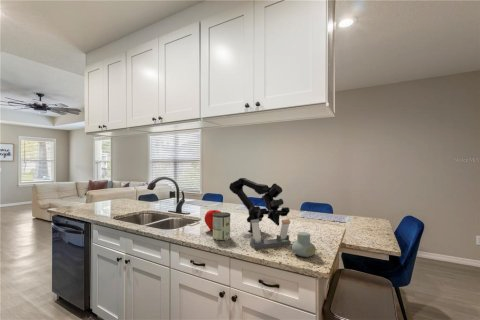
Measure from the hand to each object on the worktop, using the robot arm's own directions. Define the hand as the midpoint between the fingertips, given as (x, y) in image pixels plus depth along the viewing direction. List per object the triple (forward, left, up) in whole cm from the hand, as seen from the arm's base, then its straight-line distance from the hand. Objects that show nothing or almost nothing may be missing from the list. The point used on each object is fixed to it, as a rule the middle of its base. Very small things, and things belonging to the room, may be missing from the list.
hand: (278, 225), depth 133 cm
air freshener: (+15, +16, -9) cm, 24 cm away
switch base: (+8, -2, -9) cm, 12 cm away
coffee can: (+9, -32, -9) cm, 34 cm away
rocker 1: (+13, -7, -6) cm, 16 cm away
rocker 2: (+3, +3, -6) cm, 7 cm away
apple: (-4, -45, -9) cm, 46 cm away
